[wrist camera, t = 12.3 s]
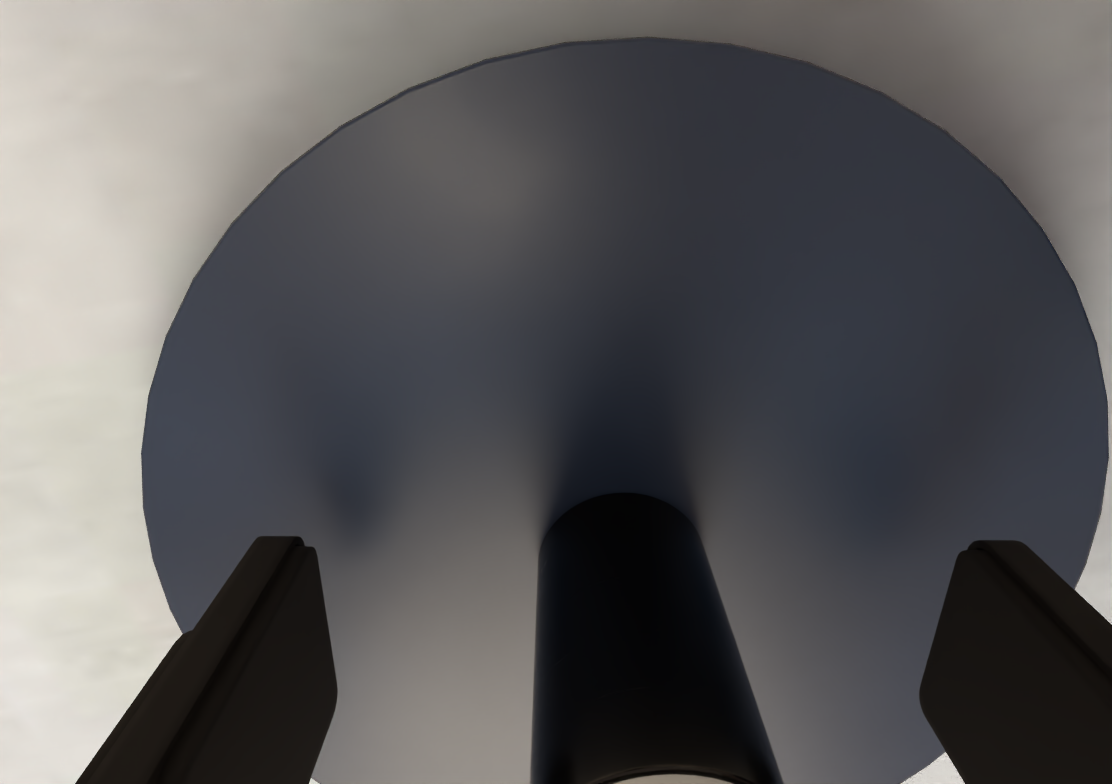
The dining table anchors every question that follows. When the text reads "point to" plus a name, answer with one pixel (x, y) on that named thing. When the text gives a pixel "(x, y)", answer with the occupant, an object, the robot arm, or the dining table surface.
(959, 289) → the pot lid
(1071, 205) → the dining table surface
